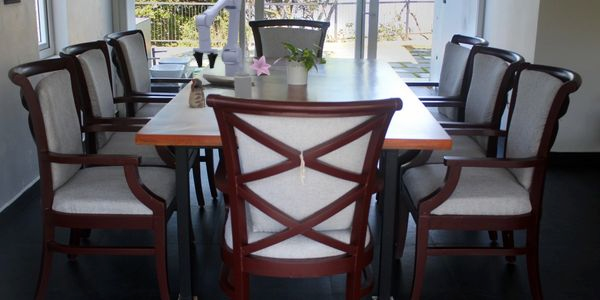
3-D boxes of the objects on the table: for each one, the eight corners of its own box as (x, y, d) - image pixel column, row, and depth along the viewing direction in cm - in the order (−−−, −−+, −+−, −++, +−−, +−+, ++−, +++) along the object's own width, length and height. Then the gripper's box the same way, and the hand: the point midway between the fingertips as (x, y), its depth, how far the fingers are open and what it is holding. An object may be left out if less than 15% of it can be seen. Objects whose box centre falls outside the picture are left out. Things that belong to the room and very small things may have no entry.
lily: (246, 77, 382) (250, 63, 376) (248, 66, 391) (253, 52, 385) (267, 84, 383) (272, 69, 378) (269, 72, 393) (274, 58, 387)
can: (242, 97, 316) (241, 71, 313) (255, 99, 312) (254, 72, 309) (231, 100, 310) (230, 73, 307) (244, 101, 306) (243, 74, 303)
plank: (210, 83, 354) (211, 80, 354) (244, 86, 342) (245, 84, 342) (202, 76, 348) (203, 74, 349) (236, 80, 336) (237, 77, 337)
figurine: (209, 105, 297) (208, 77, 294) (196, 108, 292) (195, 79, 289) (198, 104, 302) (197, 76, 299) (185, 106, 297) (184, 78, 294)
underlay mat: (219, 82, 361) (219, 81, 360) (255, 85, 348) (255, 85, 348) (200, 86, 349) (199, 85, 349) (235, 90, 336) (235, 89, 336)
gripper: (187, 39, 340) (189, 67, 344) (210, 41, 332) (211, 70, 335) (198, 38, 346) (199, 66, 349) (220, 40, 338) (221, 68, 341)
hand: (206, 67), depth 343 cm, fingers open, 7 cm apart
